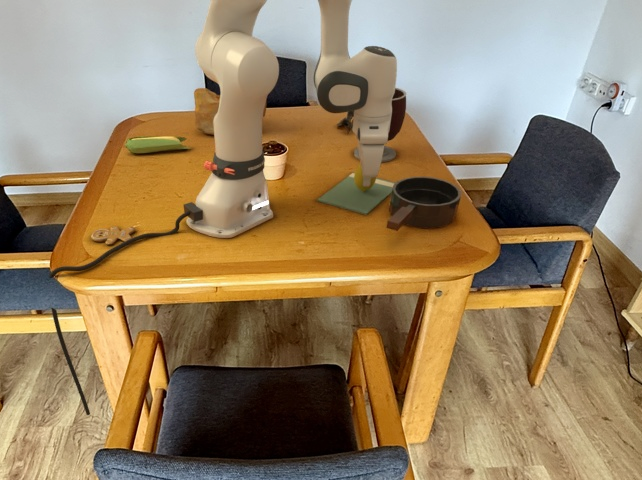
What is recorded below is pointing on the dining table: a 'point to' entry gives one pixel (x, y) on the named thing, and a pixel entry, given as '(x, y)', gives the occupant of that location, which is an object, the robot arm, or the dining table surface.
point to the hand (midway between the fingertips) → (365, 179)
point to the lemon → (359, 179)
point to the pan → (426, 201)
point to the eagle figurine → (347, 121)
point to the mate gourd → (393, 123)
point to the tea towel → (357, 195)
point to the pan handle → (400, 217)
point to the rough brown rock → (207, 109)
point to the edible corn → (154, 144)
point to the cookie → (112, 235)
